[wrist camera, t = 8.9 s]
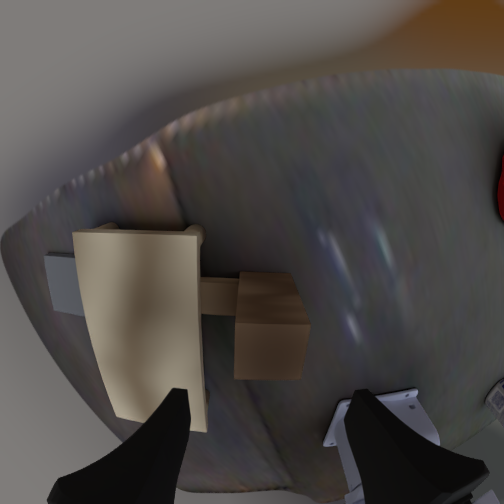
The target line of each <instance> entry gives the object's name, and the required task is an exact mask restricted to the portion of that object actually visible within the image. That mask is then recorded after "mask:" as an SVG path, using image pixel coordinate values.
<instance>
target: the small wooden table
mask: <svg viewBox="0 0 504 504" xmlns="http://www.w3.org/2000/svg"><path fill="white" fill-rule="evenodd" d="M72 233H73V243H74V253H75V261H76V268H77V275H78V281H79V287H80V293H81V298H82V303H83V308H84V313H85V317H86V322H87V326H88V330H89V334H90V338H91V342H92V346H93V349H94V353H95V356H96V360H97V363H98V366H99V369H100V372H101V375H102V378H103V381H104V384H105V387H106V390H107V393H108V395H109V398H110V401H111V403H112V406H113V408H114V411H115V413H116V416H117V417H120V418H124V419H128V420H133V421H137V422H142V423H145V422H146V420H147V419H148V418H149V417H150V416H151V415H152V413H153V412H154V411H155V410H156V409H157V408H158V406H159V405H160V404H161V402H162V401H163V400H164V399H165V397H166V396H167V394H168V393H169V392H170V390H171V389H172V388H173V387H174V388H181V389H188V397H189V405H190V413H191V425H190V430H191V431H200V432H207V427H208V419H207V410H208V404H209V398H210V392H209V391H208V390H206V389H205V382H204V367H203V349H202V327H201V295H200V246H201V245H202V243H203V242H204V240H205V238H206V231H205V229H204V228H203V227H202V226H201V225H198V224H193V225H191V226H189V227H188V228H187V229H186V230H185V231H151V230H120V229H119V227H118V225H117V224H115V223H113V222H110V223H107V224H105V225H102V226H100V227H97V228H95V229H80V230H77V231H74V232H72Z"/></svg>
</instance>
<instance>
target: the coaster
mask: <svg viewBox="0 0 504 504" xmlns="http://www.w3.org/2000/svg"><path fill="white" fill-rule="evenodd" d="M44 261H45V268H46V274H47V279H48V285H49V290H50V295H51V299H52V304H53V308H54V310H55V311H60V312H64V313H69V314H74V315H80V316H85V313H84V308H83V303H82V298H81V293H80V287H79V281H78V275H77V268H76V261H75V254H63V253H48V254H46V255H44Z"/></svg>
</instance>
